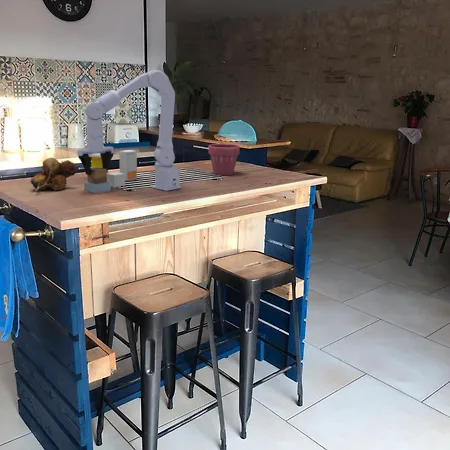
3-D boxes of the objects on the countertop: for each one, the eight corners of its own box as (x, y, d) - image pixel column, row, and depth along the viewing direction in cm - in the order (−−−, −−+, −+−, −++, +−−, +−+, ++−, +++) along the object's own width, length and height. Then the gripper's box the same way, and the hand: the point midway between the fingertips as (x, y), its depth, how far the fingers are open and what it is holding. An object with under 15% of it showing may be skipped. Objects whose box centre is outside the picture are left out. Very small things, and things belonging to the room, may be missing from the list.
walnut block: (107, 182, 187) (106, 168, 186) (96, 184, 184) (95, 170, 182) (98, 180, 190) (98, 167, 189) (87, 182, 186) (86, 168, 185)
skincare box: (126, 181, 206) (125, 152, 203) (119, 179, 208) (118, 150, 205) (137, 179, 211) (136, 150, 207) (130, 177, 213) (129, 149, 210)
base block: (110, 191, 188) (110, 182, 187) (93, 194, 183) (93, 184, 182) (101, 188, 193) (101, 179, 192) (84, 190, 188) (84, 181, 187)
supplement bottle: (105, 178, 211) (104, 147, 207) (90, 177, 211) (88, 147, 207) (109, 175, 217) (108, 145, 213) (94, 174, 217) (93, 145, 214)
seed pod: (84, 173, 185) (69, 155, 194) (42, 167, 174) (28, 149, 183) (74, 203, 189) (60, 185, 199) (32, 200, 178) (19, 180, 188)
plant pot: (203, 171, 232) (203, 143, 229) (230, 170, 238) (231, 143, 235) (215, 177, 220) (216, 148, 216) (244, 175, 226) (245, 147, 222)
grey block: (124, 186, 197) (124, 173, 195) (114, 188, 193) (114, 175, 192) (116, 184, 200) (116, 171, 198) (106, 186, 196) (106, 173, 195)
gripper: (104, 134, 190) (106, 169, 194) (71, 136, 179) (73, 174, 183) (116, 135, 186) (117, 171, 189) (82, 138, 175) (84, 176, 179)
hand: (96, 173), depth 186 cm, fingers open, 7 cm apart
